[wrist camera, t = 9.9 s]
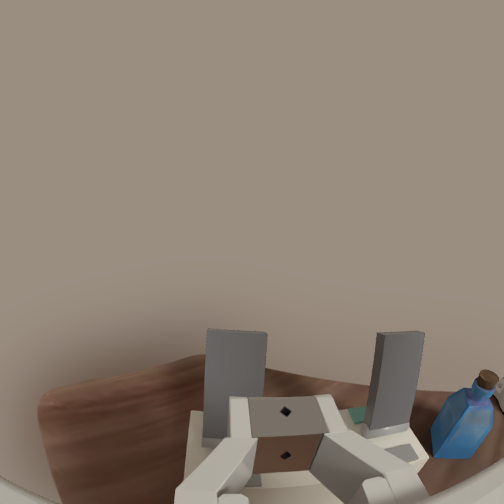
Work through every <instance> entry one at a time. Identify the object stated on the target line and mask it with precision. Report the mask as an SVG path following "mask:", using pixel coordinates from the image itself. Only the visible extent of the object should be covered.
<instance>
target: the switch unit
mask: <svg viewBox="0 0 504 504" xmlns="http://www.w3.org/2000/svg"><path fill="white" fill-rule="evenodd" d="M338 411H339V413H340V415H341V417H342V420H343V422H344V424H345V426H346V428H347V431H350V430H353V431H354V432H356V433H357V434H359V435H361V432H360V431H361V426H362V424H363V421H364V416H365V411H366V407H358V408H350V409H346V410H338ZM202 429H203V411H193V410H191V415H190V424H189V432H188V441H187V451H186V460H185V470H184V480H185V479H186V478H187V477H188V476H189V475H190V474H191V473H192V472H193V471H194V470H195V469H196V468H197V467H198V466H199V465H200V464H201V463H202V462H203V461H204V460H205V458H206V457H207V456H208V455H209V454H210V453H211V452H212V451H213V450H214V449H215V448H203V447H202ZM367 440H369V441H370V442H372V443H374V444H375V445H377V446H379V447H380V448H382V449H384V450H386V451H387V452H389V453H391V454H392V455H394V456H396V457H398V458H399V459H401V460H403V461H405V462H407V463H408V464H410V465H412V466H413V467H414V469H415V471H416V473H418V472H419V470H420V469H421V468H422V467H423V465H424V464H425V463H426V461H427V460H428V459H429V456H428V455H427V453H426V452H425V450H424V448H423V447H422V445H421V444H420V442H419V441H418V439H417V438H416V436H415V435H414V433H413V432H412V430H411V429H410V427H409V428H408V430H407V431H404V432H400V433H395V434H391V435H386V436H381V437H376V438H371V439H367ZM240 494H242V495H244V496H246V497H247V498H248V500H249V504H344V503H343V502H342V501H341V500H340V499H338V498H337V497H336V496H335V495H334V494H333V493H332V492H331V491H329V490H328V489H327V488H326V487H325V486H324V485H323V484H322V483H321V482H320V481H319V480H317V479H316V478H315V477H314V476H313V475H312V474H311V473H310V472H309V470H307V471H294V472H276V473H261V474H252V476H251V477H250V479H249V480H248V482H247V483H246V485H245V486H244V488H243V489H242V491H241V492H240Z"/></svg>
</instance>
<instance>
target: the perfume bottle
mask: <svg viewBox="0 0 504 504" xmlns="http://www.w3.org/2000/svg"><path fill="white" fill-rule="evenodd" d="M498 381H499V377H498V376H497V375H496V374H495V373H494V372H492V371H489V370H481V371H480V373H479V377H478V378H476V379H475V381H474V383H473V385H472V389H471V388H462V389H461V390H459V391H457V392H456V393H454V394H452V395H450V396H449V397H448V398H447V400H446V402H445V404H444V405H443V407H442V409H441V411H440V413H439V414H438V416H437V418H436V420H435V421H434V423H433V425H432V426H431V428H430V429H431V438H432V447H433V458H459V459H469V458H470V457H471V456H472V455H473V453H474V452H475V451H476V449H477V448H478V447H479V445H480V444H481V443H482V441H483V440H484V438H485V437H486V436H487V434H488V433H489V431H490V430H491V428H492V423H493V405H492V403H491V400H490V398H489V397H491V396H492V395H493V393H494V391H495V389H496V386H495V385H496V384H497V383H498Z"/></svg>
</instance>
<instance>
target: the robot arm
mask: <svg viewBox="0 0 504 504" xmlns="http://www.w3.org/2000/svg"><path fill="white" fill-rule="evenodd" d="M495 386H496V389H495V391H494V393H493V394H494V396H495V397H496V398H497V399H498V401H499V404H500V407H501V409H502V410H503V412H504V377H503V378H502V379H501V380H500V381H499V382H498V383H497V384H496V385H495ZM307 470H309V472H310V473H311V474H312V475H313V476H314V477H315V478H316V479H317V480H319V481H320V482H321V483H322V484H323V485H324V486H325V487H326V488H327V489H328V490H329V491H331V492H332V493H333V494H334V495H335V496H336V497H337V498H338V499H340V500H341V501H342V502H343V503H344V504H504V458H502V459H501V460H499V461H497V462H496V463H494V464H493V465H491V466H489V467H488V468H486V469H484V470H483V471H481V472H479V473H477V474H476V475H474V476H472V477H470V478H468V479H466V480H465V481H463V482H461V483H459V484H457V485H455V486H453V487H451V488H449V489H446V490H444V491H442V492H440V493H438V494H436V495H433V496H431V497H430V496H429V494H428V493H427V491H426V489H425V487H424V485H423V484H422V482H421V480H420V478H419V476H418V475H417V473H416V471H415V469H414V467H413V466H412V465H410V464H408V463H407V462H405V461H403V460H401V459H399V458H398V457H396V456H394V455H392V454H391V453H389V452H387V451H386V450H384V449H382V448H380V447H379V446H377V445H375V444H374V443H372V442H370V441H369V440H367V439H365V438H364V437H362V436H361V435H359V434H357V433H356V432H354V431H353V430H350V431H347V428H346V426H345V424H344V422H343V420H342V417H341V415H340V413H339V411H338V409H337V406H336V404H335V402H334V400H333V397H332V396H331V395H330V394H325V395H314V396H299V397H235V396H229V405H228V422H227V437H225V438H224V439H223V440H222V441H221V442H220V443H219V444H218V446H217V447H216V448H215V449H214V450H213V451H212V452H211V453H210V454H209V455H208V456H207V457H206V458H205V460H204V461H203V462H202V463H201V464H200V465H199V466H198V467H197V468H196V469H195V470H194V471H193V472H192V473H191V474H190V475H189V476H188V477H187V478H186V479H185V480H184V481H183V482H182V483H181V484H180V485H179V486H178V487H177V488H176V490H175V499H174V504H249V500H248V498H247V497H246V496H244V495H242V494H240V492H241V491H242V489H243V488H244V486H245V485H246V483H247V482H248V480H249V479H250V477H251V476H252V474H261V473H276V472H294V471H307ZM0 504H58V503H56V502H53V501H51V500H49V499H46V498H44V497H41V496H39V495H37V494H35V493H33V492H30V491H28V490H26V489H24V488H22V487H20V486H18V485H16V484H14V483H12V482H10V481H9V480H6V479H5V478H3V477H1V476H0Z"/></svg>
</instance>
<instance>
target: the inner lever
mask: <svg viewBox="0 0 504 504" xmlns="http://www.w3.org/2000/svg"><path fill="white" fill-rule="evenodd" d="M424 335H425V333H423V332H419V331H405V332H383V333H377V337H376V346H375V355H374V363H373V369H372V377H371V383H370V389H369V395H368V401H367V406H366V411H365V416H364V421H363V424H362V426H361V431H360V432H361V436H362V437H364V438H365V439H371V438H376V437H381V436H386V435H391V434H395V433H400V432H404V431H407V430H408V428H409V420H410V416H411V412H412V407H413V403H414V398H415V393H416V388H417V383H418V377H419V371H420V364H421V359H422V358H421V357H422V352H423V344H424Z"/></svg>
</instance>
